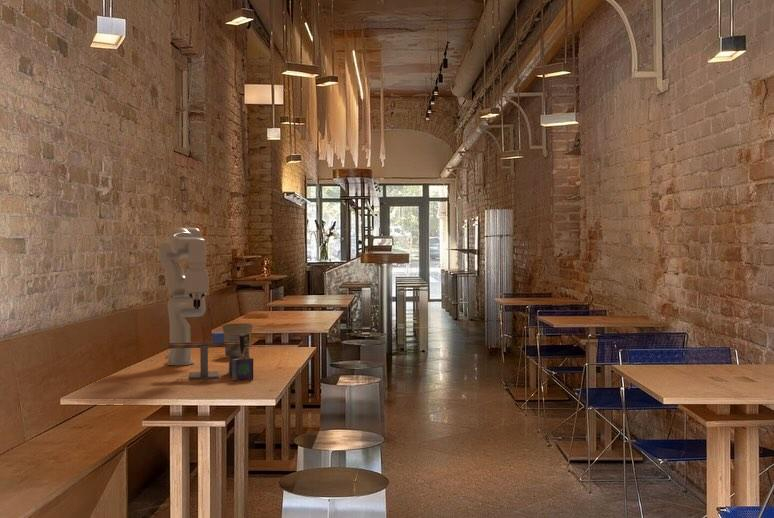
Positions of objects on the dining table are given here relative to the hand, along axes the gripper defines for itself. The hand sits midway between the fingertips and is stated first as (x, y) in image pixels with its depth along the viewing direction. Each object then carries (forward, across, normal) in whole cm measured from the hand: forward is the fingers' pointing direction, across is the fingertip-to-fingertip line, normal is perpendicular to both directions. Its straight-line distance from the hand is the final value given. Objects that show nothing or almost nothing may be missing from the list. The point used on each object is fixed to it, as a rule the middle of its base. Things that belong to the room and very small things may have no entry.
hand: (196, 308), depth 367 cm
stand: (+28, +7, -11) cm, 31 cm away
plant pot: (+30, +19, +51) cm, 62 cm away
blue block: (+14, +9, -11) cm, 20 cm away
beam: (+19, +3, -11) cm, 22 cm away
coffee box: (+29, +19, +3) cm, 34 cm away
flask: (+28, +19, -24) cm, 41 cm away
